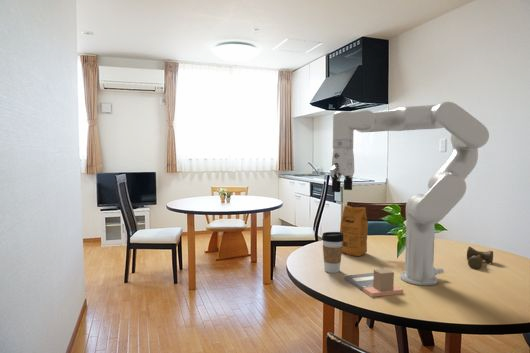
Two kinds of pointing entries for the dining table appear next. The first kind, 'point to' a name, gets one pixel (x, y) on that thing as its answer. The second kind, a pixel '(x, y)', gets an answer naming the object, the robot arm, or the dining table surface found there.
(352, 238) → the coffee package
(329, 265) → the coffee cup
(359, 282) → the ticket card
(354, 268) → the dining table surface
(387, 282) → the cube on pink base
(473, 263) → the kendama
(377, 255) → the dining table surface
